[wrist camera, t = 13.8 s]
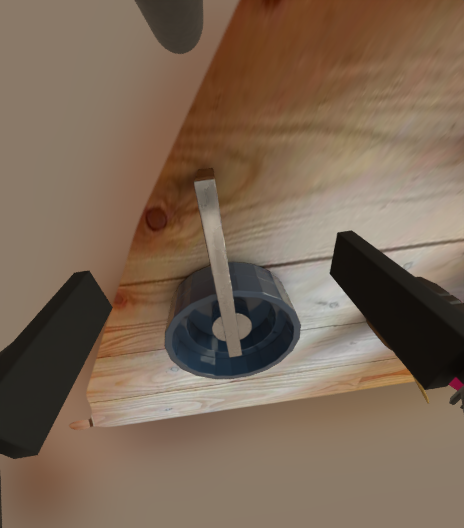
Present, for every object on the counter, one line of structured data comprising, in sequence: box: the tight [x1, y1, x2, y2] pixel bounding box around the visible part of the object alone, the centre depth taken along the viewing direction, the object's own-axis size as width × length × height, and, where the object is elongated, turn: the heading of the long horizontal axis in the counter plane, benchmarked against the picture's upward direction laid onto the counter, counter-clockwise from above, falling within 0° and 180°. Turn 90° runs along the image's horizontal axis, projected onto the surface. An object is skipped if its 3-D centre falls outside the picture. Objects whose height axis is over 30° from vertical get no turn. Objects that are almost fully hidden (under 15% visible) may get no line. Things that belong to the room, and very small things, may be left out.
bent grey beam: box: [194, 168, 252, 357], centre depth 21 cm, size 20×5×7 cm, turn 7°
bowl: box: [165, 262, 301, 379], centre depth 27 cm, size 16×16×6 cm
